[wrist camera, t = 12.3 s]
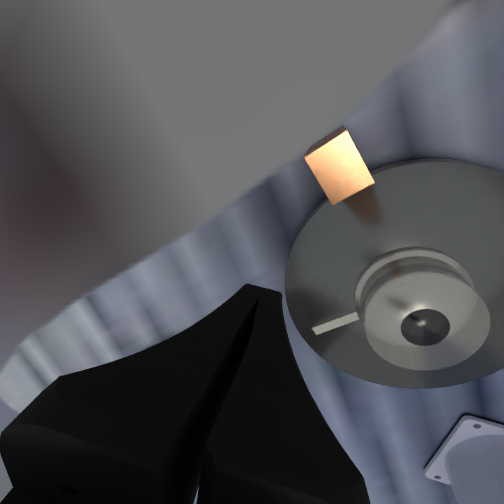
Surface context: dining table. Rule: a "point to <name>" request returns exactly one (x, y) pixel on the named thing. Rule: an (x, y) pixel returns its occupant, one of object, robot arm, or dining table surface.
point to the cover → (420, 309)
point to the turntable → (385, 240)
